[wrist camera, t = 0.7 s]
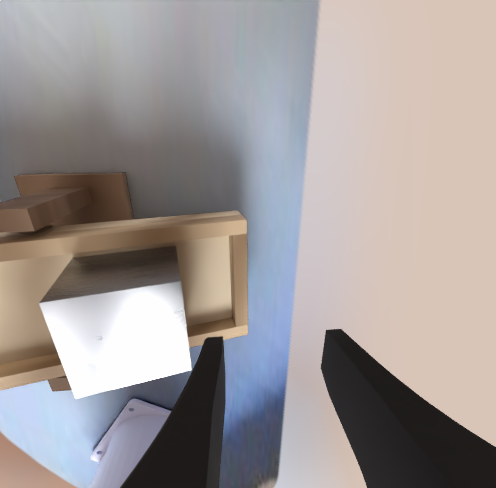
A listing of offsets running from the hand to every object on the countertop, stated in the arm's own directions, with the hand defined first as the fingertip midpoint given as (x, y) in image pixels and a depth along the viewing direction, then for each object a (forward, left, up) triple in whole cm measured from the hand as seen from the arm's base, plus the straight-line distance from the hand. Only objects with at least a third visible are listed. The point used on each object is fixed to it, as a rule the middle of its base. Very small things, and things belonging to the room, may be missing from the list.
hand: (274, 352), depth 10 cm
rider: (-4, +6, -5) cm, 9 cm away
